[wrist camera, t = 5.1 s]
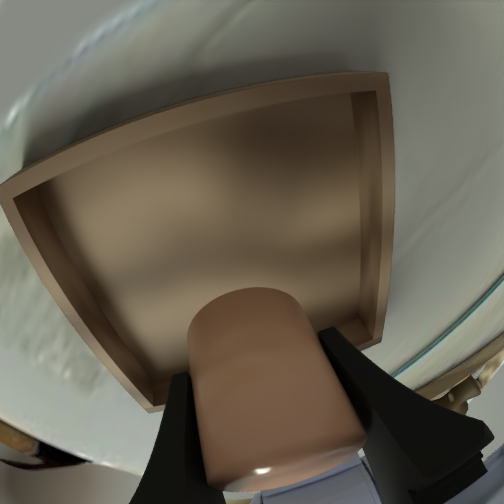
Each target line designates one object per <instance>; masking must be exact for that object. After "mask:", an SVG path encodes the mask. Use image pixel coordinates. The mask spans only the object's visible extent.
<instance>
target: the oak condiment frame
mask: <svg viewBox="0 0 504 504" xmlns="http://www.w3.org/2000/svg"><path fill="white" fill-rule="evenodd" d="M503 359H504V333H503V334H502V335H501V336H499V337H498V338H497V339H495V340H494V341H493V342H491V343H490V344H489V345H487V346H486V347H485V348H483V349H482V350H481V351H479V352H478V353H476V354H475V355H473V356H472V357H471V358H469V359H468V360H466V361H465V362H463V363H462V364H460V365H459V366H457V367H456V368H454V369H452V370H451V371H449V372H448V373H446V374H445V375H443V376H441V377H440V378H438V379H436V380H435V381H433V382H431V383H429V384H428V385H426V386H424V387H423V388H421V389H419V390H417V391H415V392H416V393H418V394H420V395H421V396H423V397H425V398H427V399H429V400H431V401H432V400H434V399H436V398H437V397H439V396H441V395H442V394H444V393H445V392H447V391H449V390H450V389H452V388H453V387H455V386H456V385H458V384H459V383H461V382H462V381H464V380H465V379H466V378H467V377H468V376H470V375H472V374H474V373H475V372H476V371H478V370H479V369H480V368H482V367H483V366H484V365H486V364H487V365H486V367H485V368H484V370H483V372H482V373H481V375H480V376H479V378H478V379H477V380H476V382H477V384H478V385H479V387H480V390H482V389H483V388H484V387H485V386H486V385H487V383H488V382H489V380H490V379H491V378H492V376H493V375H494V373H495V372H496V370H497V369H498V367H499V365H500V364H501V362H502V361H503ZM466 401H467V400H466Z"/></svg>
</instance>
